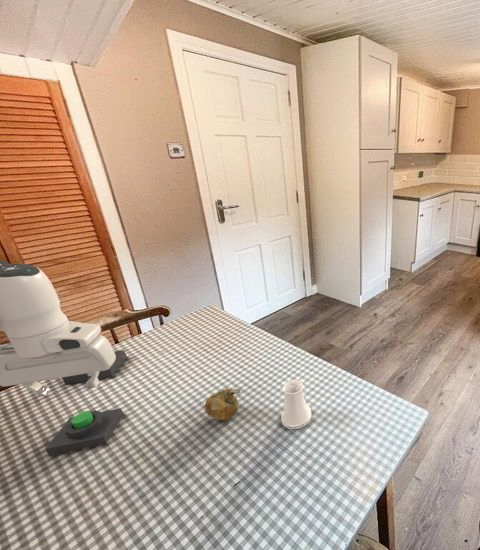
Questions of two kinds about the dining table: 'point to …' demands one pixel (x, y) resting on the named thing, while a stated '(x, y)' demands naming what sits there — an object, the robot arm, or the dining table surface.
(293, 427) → the vase
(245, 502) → the dining table surface
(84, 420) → the button
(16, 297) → the robot arm
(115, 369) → the dial panel
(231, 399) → the onion
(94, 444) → the block
